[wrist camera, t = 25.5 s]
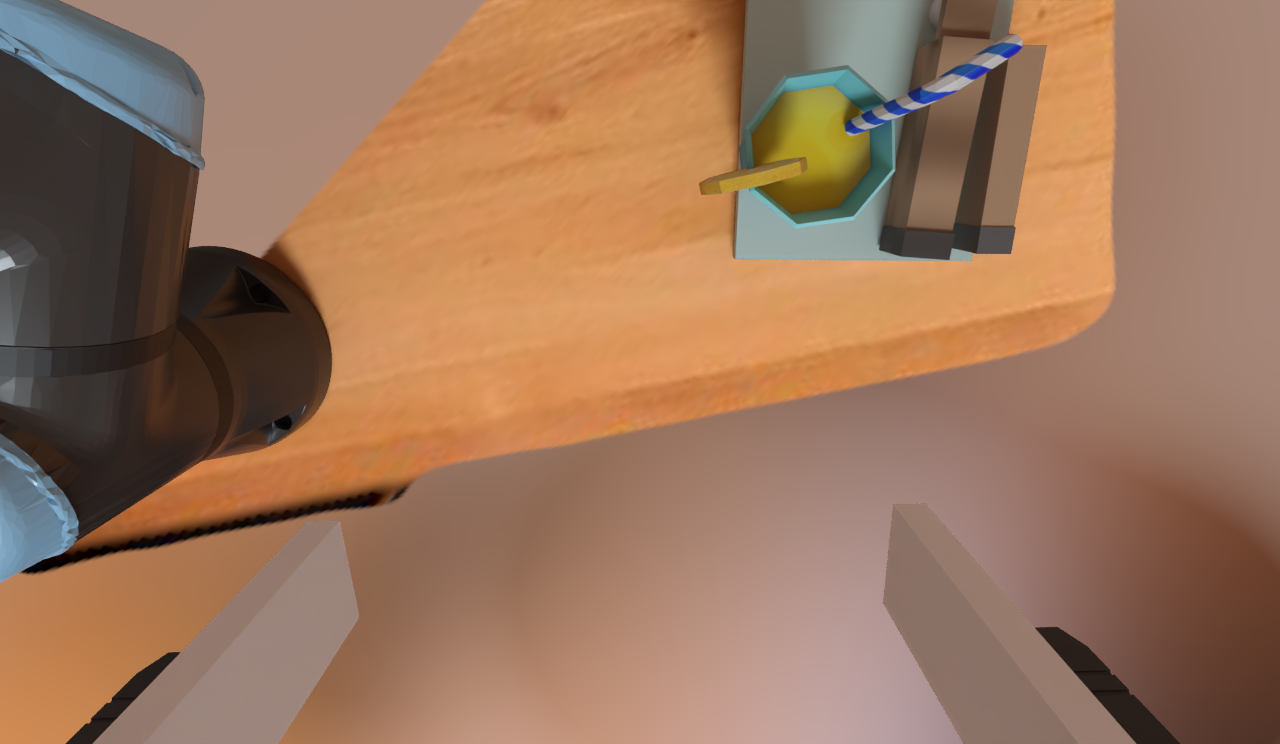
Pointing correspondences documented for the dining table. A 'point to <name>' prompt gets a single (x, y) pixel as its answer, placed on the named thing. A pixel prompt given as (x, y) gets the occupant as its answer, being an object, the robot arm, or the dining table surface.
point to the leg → (937, 138)
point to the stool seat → (885, 57)
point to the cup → (833, 139)
